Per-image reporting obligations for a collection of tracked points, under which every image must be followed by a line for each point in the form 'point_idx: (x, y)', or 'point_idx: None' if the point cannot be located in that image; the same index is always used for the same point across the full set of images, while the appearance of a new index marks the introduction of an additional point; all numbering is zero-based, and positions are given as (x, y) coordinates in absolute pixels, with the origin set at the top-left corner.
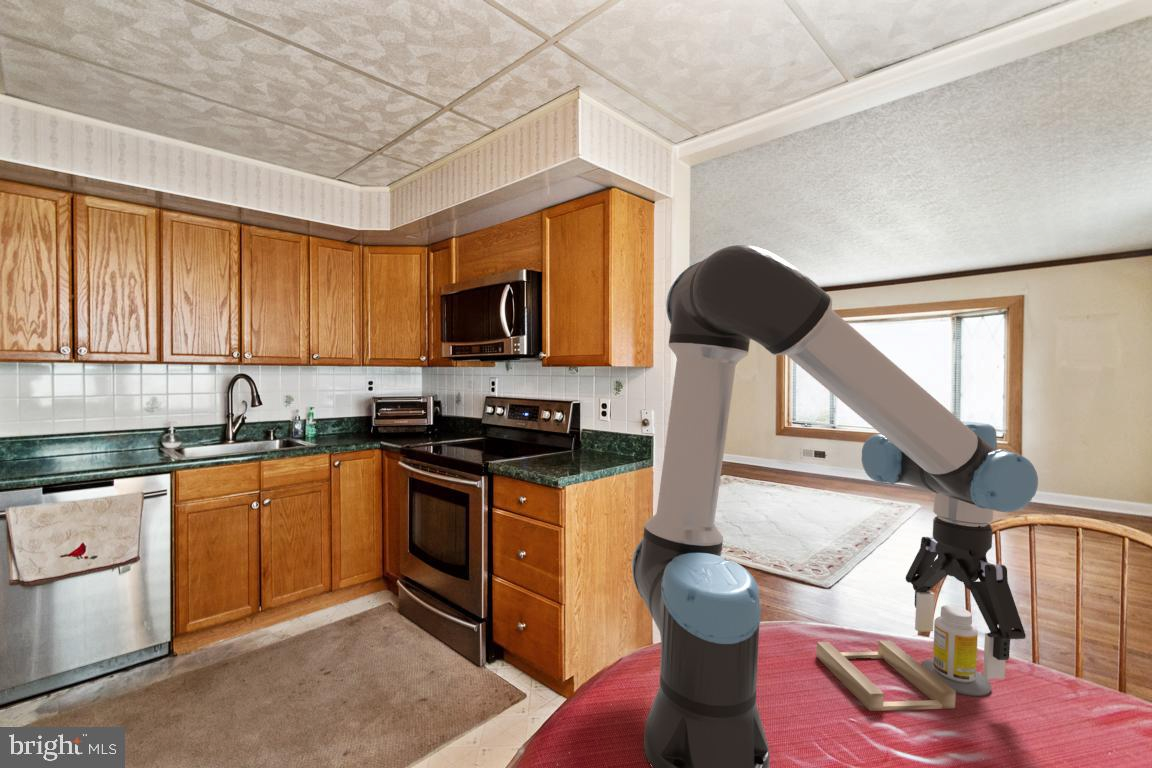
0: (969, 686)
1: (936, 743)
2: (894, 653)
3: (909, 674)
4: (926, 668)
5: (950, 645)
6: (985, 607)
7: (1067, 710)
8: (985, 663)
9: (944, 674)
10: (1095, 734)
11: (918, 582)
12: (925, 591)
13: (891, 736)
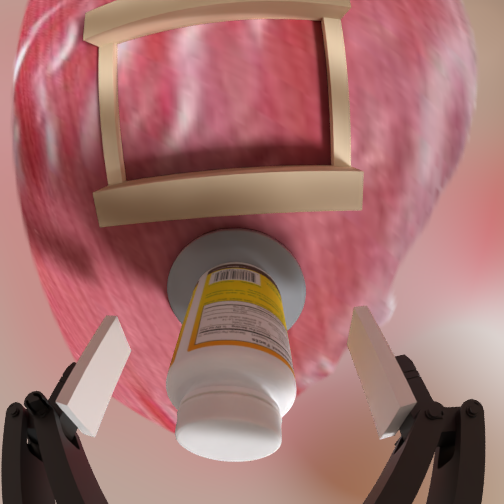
0: (188, 296)
1: (32, 116)
2: (284, 171)
3: (214, 172)
4: (261, 248)
5: (190, 326)
6: (48, 476)
7: (160, 386)
8: (98, 339)
9: (214, 267)
10: None
11: (427, 440)
12: (403, 425)
13: (47, 47)
